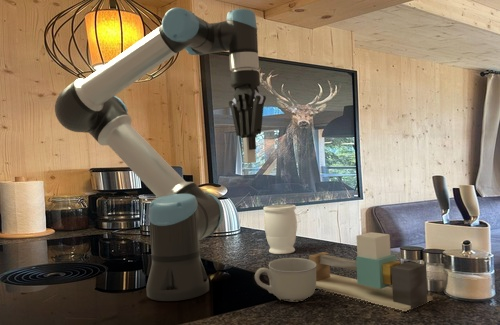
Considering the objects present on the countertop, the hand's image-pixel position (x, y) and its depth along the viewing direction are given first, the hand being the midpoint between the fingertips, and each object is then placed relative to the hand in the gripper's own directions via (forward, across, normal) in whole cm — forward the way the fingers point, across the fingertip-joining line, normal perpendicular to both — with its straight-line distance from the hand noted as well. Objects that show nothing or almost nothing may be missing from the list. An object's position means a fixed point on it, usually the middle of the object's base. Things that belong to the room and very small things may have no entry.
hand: (250, 162), depth 122 cm
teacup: (+31, -18, +6) cm, 36 cm away
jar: (+31, +19, -26) cm, 44 cm away
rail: (+30, -28, -8) cm, 42 cm away
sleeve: (+27, -32, -8) cm, 43 cm away
